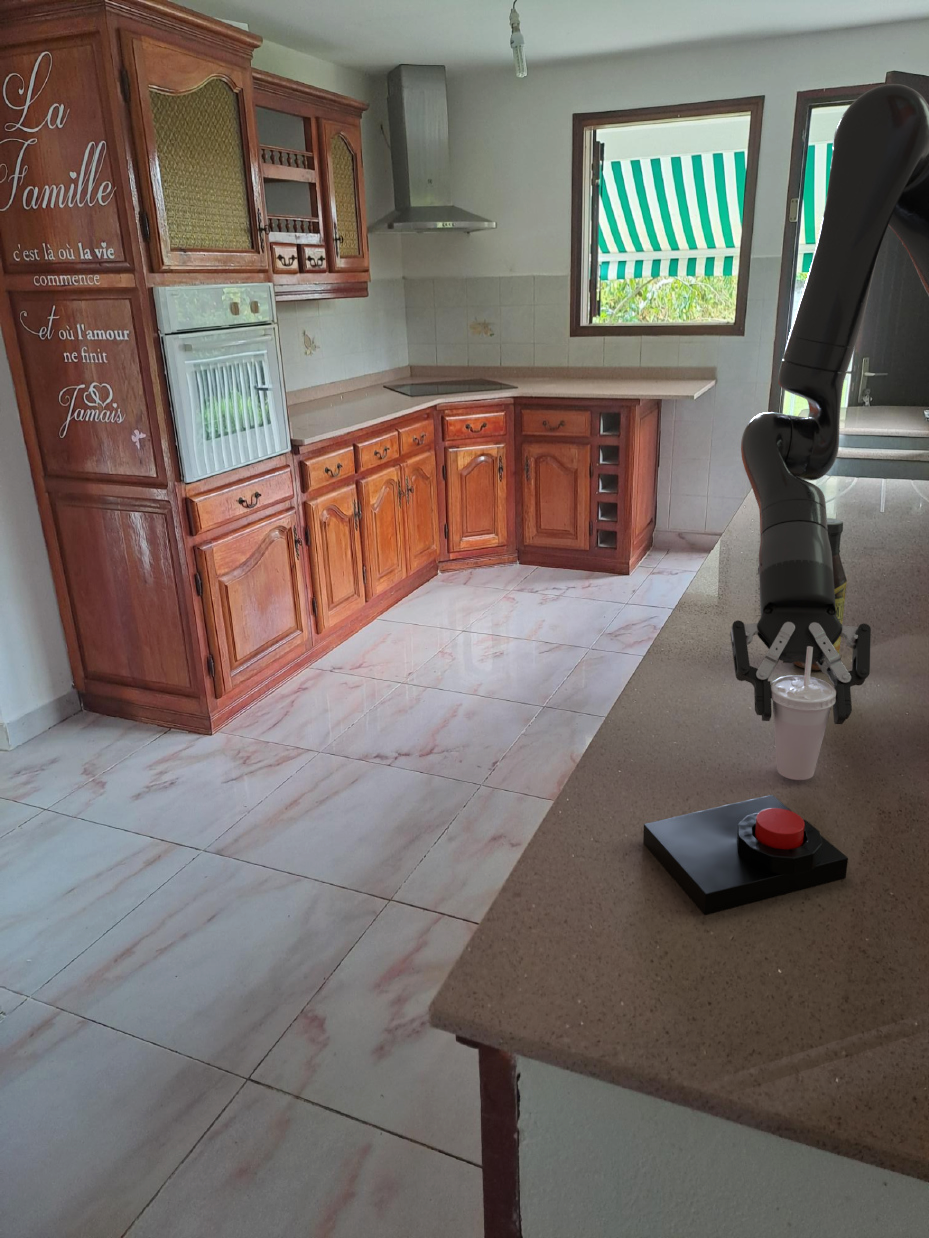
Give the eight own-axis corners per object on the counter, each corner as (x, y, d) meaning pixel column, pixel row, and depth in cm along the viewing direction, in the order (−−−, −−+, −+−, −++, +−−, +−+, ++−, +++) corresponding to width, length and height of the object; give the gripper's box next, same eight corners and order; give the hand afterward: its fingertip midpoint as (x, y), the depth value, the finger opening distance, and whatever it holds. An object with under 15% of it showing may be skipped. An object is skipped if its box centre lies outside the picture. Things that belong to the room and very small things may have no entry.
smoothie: (840, 772, 92) (854, 649, 87) (803, 794, 89) (815, 667, 84) (787, 749, 97) (798, 631, 92) (750, 769, 94) (759, 648, 89)
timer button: (784, 820, 80) (785, 804, 79) (812, 845, 76) (814, 827, 76) (745, 829, 79) (746, 813, 78) (772, 855, 75) (774, 837, 75)
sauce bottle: (834, 675, 116) (849, 529, 109) (784, 668, 119) (796, 525, 112) (841, 657, 121) (856, 517, 114) (794, 651, 124) (805, 513, 117)
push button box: (770, 813, 87) (773, 778, 86) (849, 881, 77) (854, 842, 75) (643, 843, 84) (643, 807, 82) (707, 919, 73) (709, 879, 72)
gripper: (730, 556, 93) (733, 705, 87) (875, 557, 91) (889, 712, 84) (723, 587, 100) (726, 728, 94) (858, 589, 97) (870, 734, 91)
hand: (803, 720), depth 89 cm, fingers closed on smoothie, 6 cm apart
